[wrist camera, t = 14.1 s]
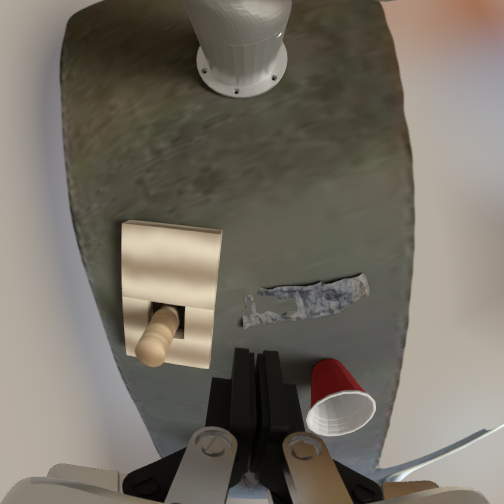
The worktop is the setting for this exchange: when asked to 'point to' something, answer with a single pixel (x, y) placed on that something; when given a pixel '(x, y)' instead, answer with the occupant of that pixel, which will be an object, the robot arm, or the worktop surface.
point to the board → (171, 284)
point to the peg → (158, 336)
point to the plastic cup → (337, 400)
